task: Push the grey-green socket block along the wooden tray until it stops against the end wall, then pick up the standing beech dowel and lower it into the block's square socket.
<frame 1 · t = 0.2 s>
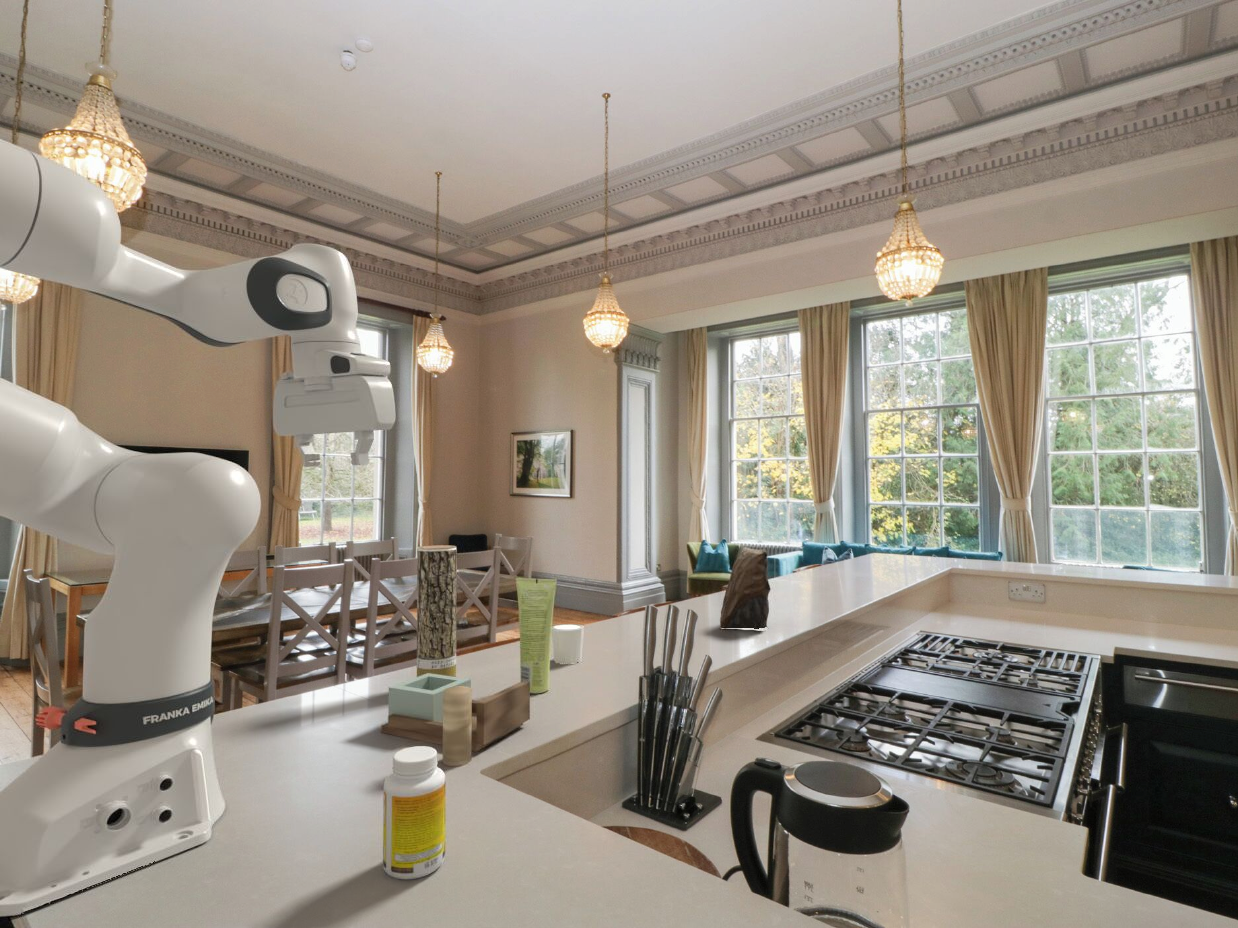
hand: (335, 466, 93), 39 cm above the worktop, tool pointing down, fingers open, 8 cm apart
socket block: (430, 699, 99), point 4 cm above the worktop, slide at 0.0 cm
supplement bottle: (414, 867, 62), on the worktop
paper tube: (436, 689, 118), on the worktop
tube: (535, 691, 116), on the worktop
wooden tray: (453, 728, 97), on the worktop
shot glass: (567, 661, 136), on the worktop
dowel: (457, 760, 86), on the worktop
brown rock: (742, 627, 169), on the worktop
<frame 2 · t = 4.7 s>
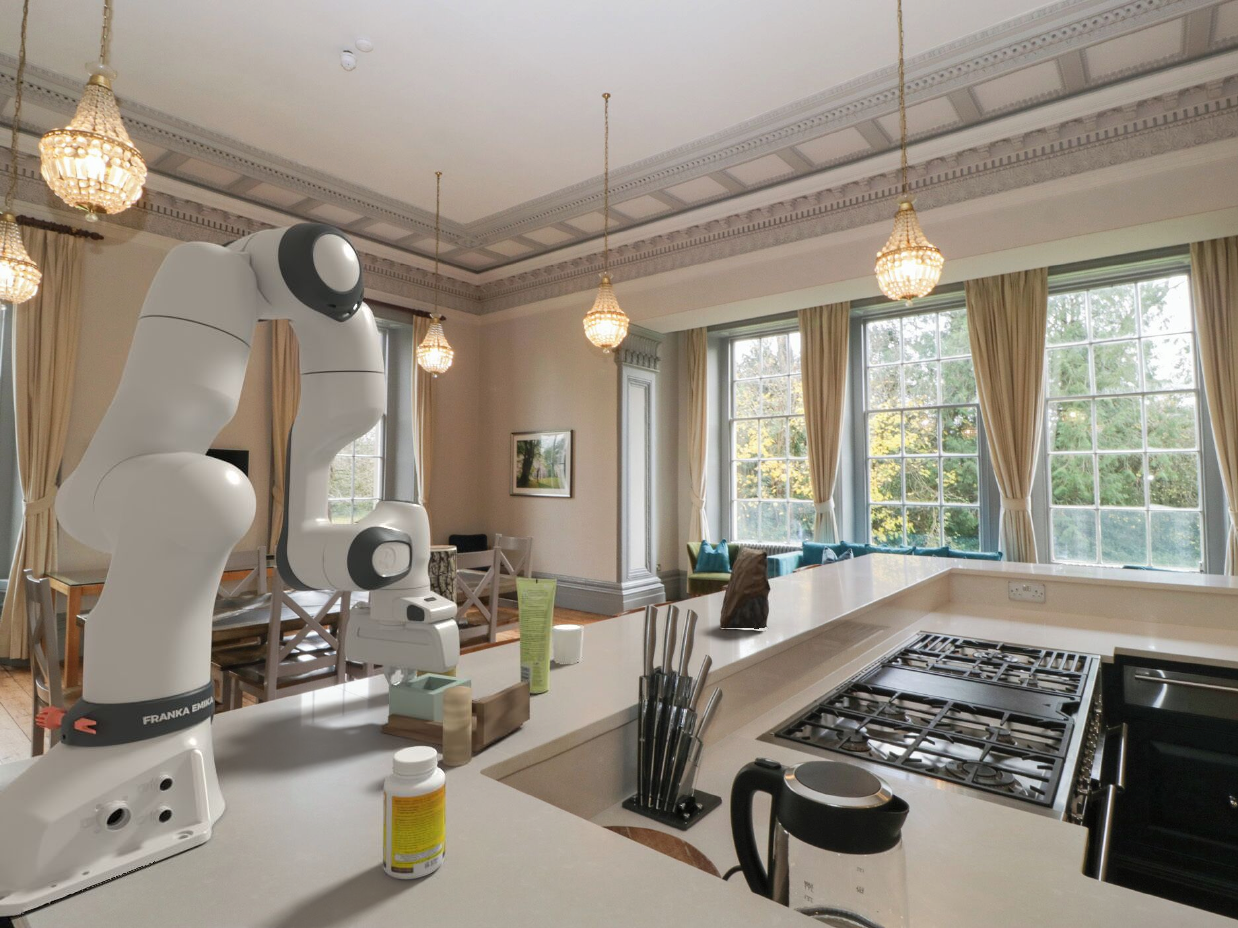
hand: (399, 695, 102), 4 cm above the worktop, tool pointing down, fingers closed
socket block: (430, 700, 99), point 4 cm above the worktop, slide at 0.1 cm, touching gripper
everything else where it was.
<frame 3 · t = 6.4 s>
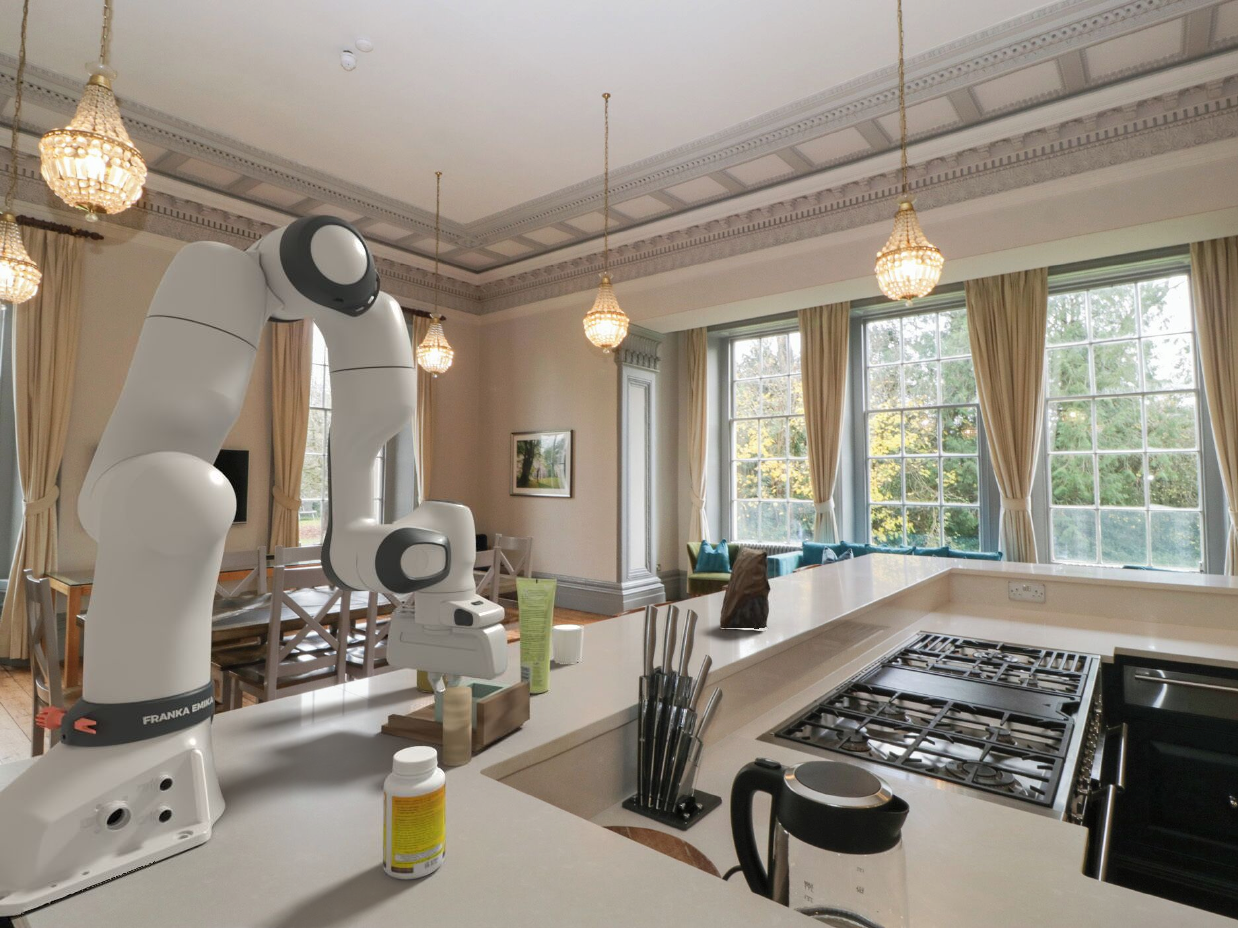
hand: (444, 702, 98), 4 cm above the worktop, tool pointing down, fingers closed
socket block: (477, 707, 96), point 4 cm above the worktop, slide at 8.6 cm, touching gripper, wooden tray
everything else where it was.
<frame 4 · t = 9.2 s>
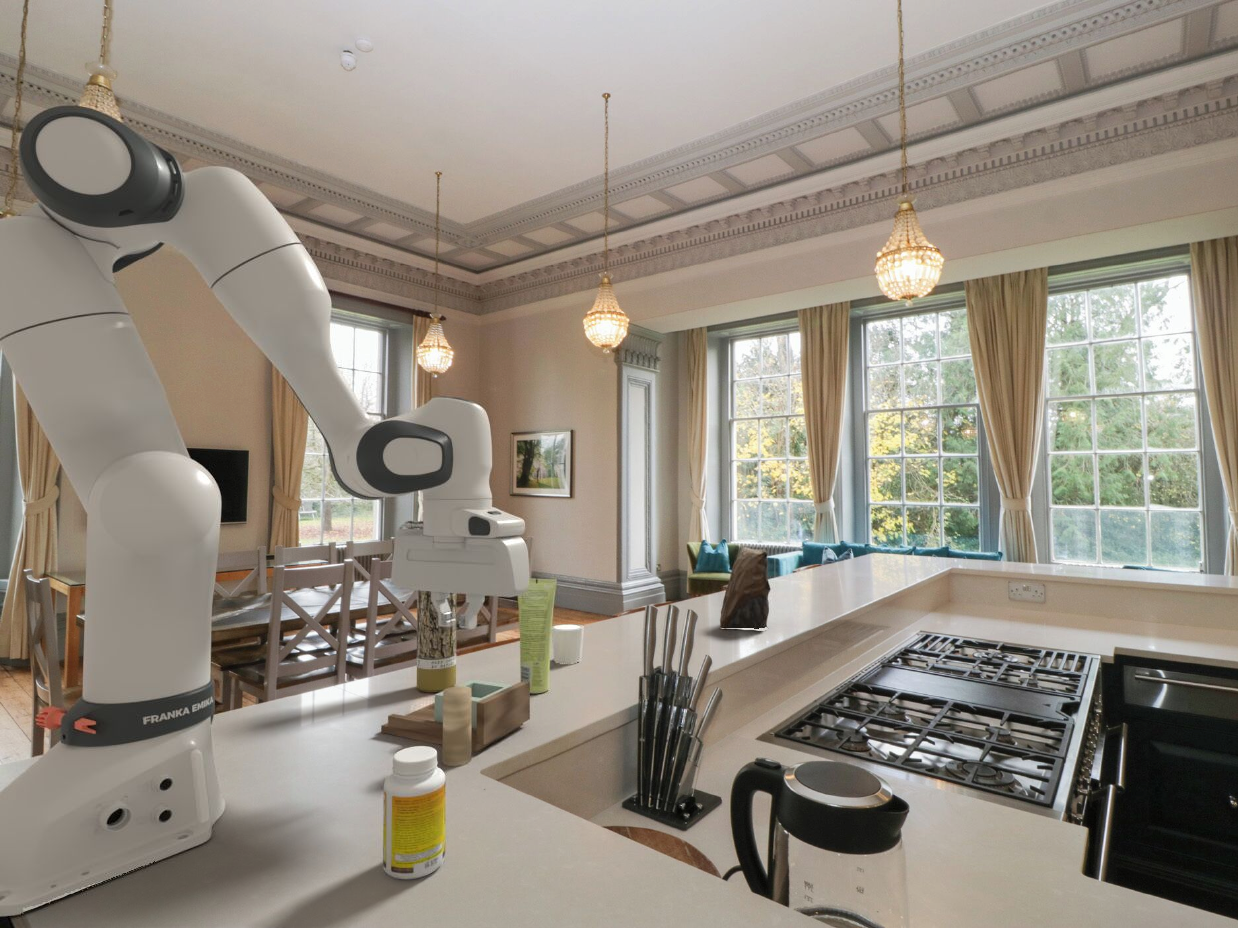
hand: (457, 627, 87), 17 cm above the worktop, tool pointing down, fingers closed
socket block: (477, 707, 96), point 4 cm above the worktop, slide at 8.6 cm, touching wooden tray
everything else where it was.
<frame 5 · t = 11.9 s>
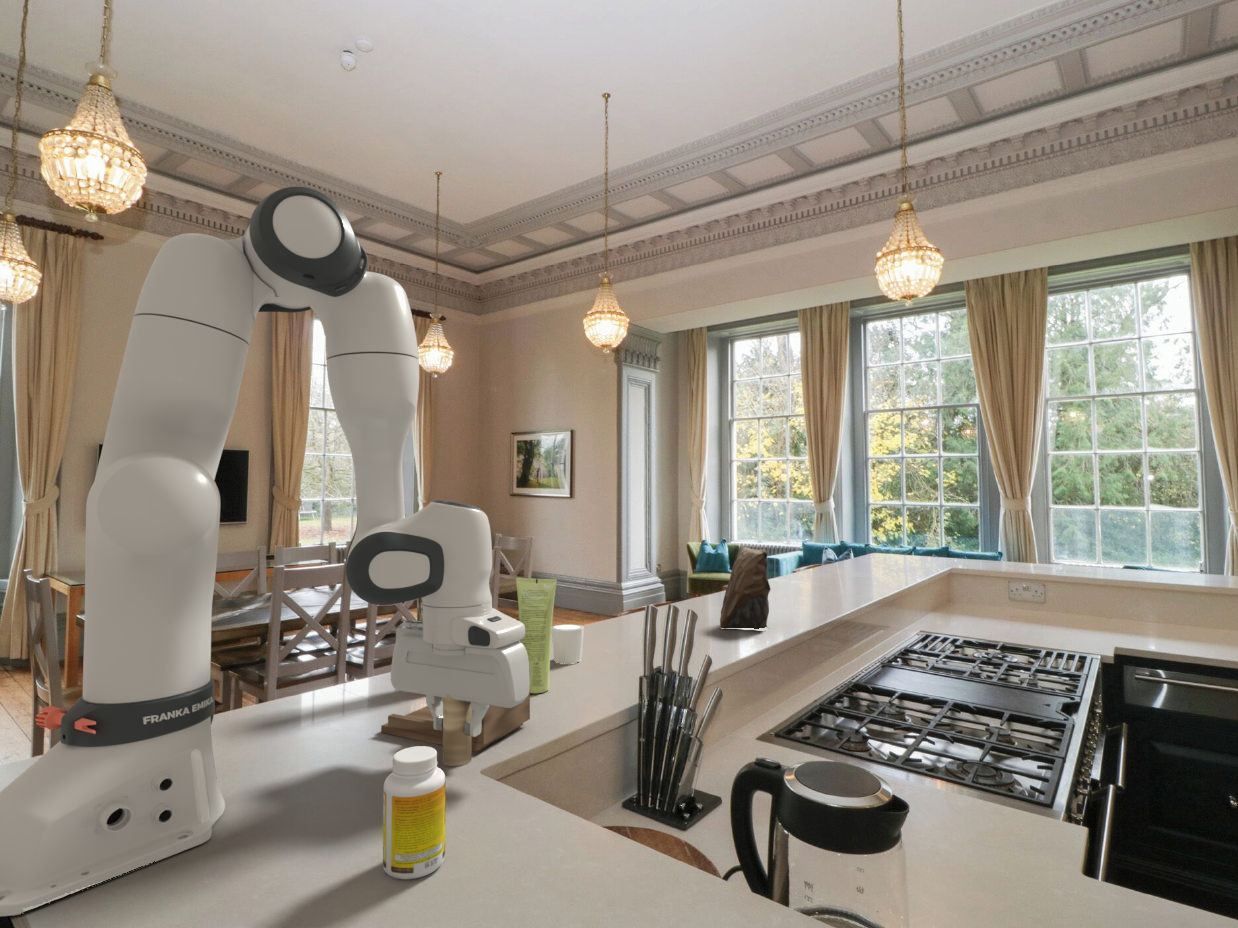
hand: (457, 731, 86), 4 cm above the worktop, tool pointing down, fingers closed on dowel, 4 cm apart
dowel: (457, 760, 86), on the worktop, touching gripper
everything else where it was.
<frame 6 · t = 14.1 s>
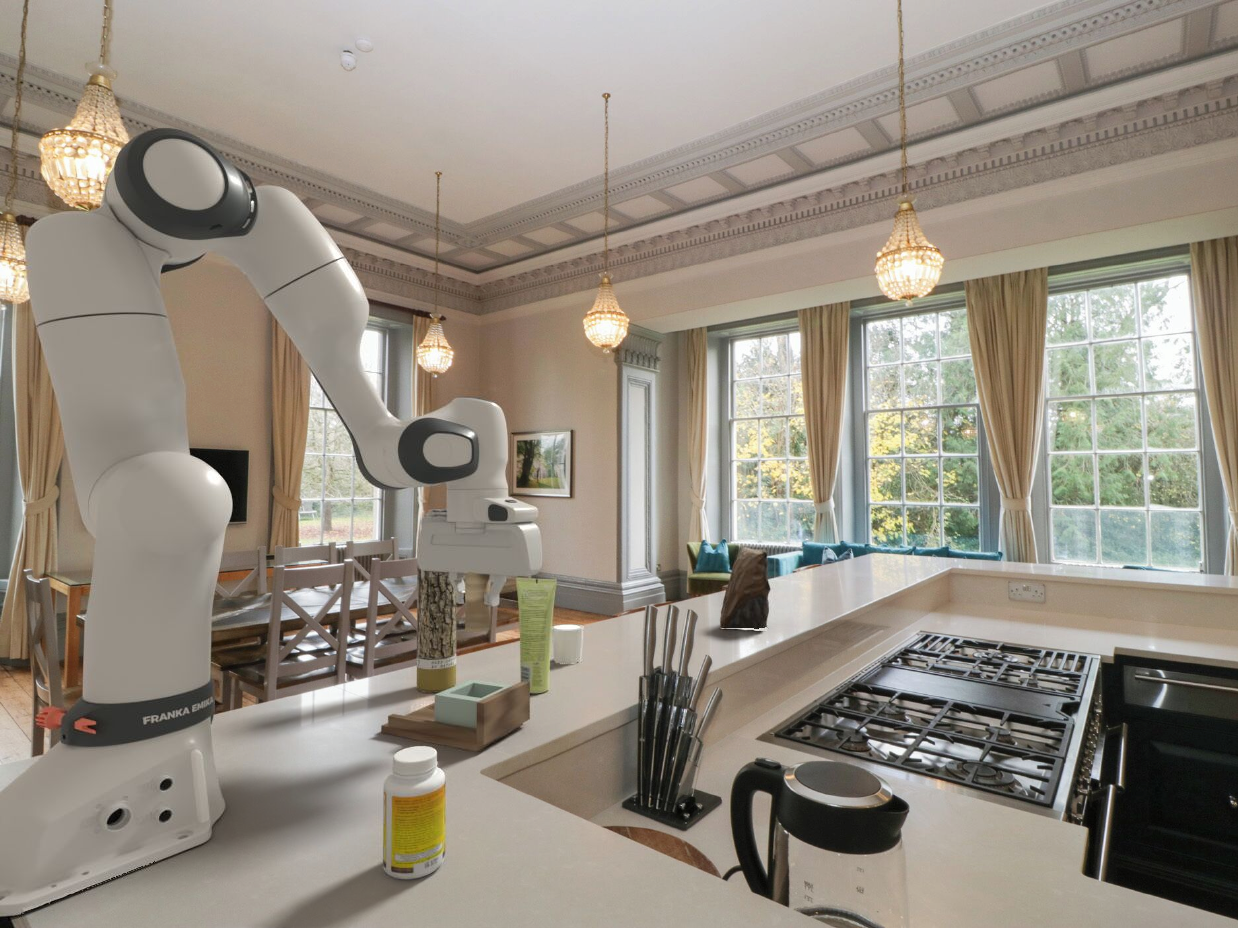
hand: (477, 604, 96), 18 cm above the worktop, tool pointing down, fingers closed on dowel, 4 cm apart
dowel: (477, 629, 96), point 15 cm above the worktop, touching gripper
everything else where it was.
when the fingers open (7 cm above the worktop, at t = 16.3 s): dowel drops 2 cm, resting on wooden tray.
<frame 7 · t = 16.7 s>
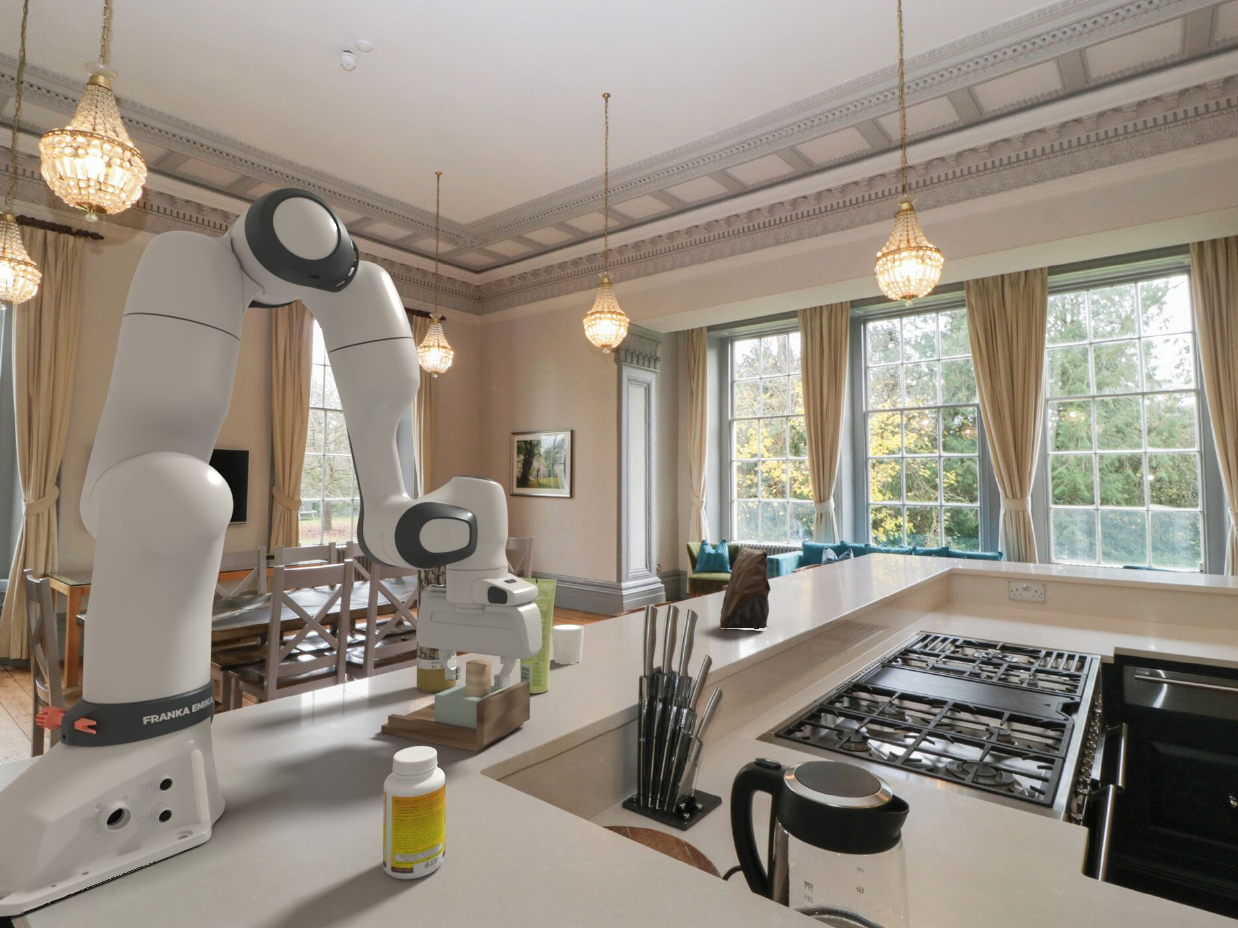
hand: (476, 683, 96), 7 cm above the worktop, tool pointing down, fingers open, 7 cm apart
dowel: (477, 725, 96), point 1 cm above the worktop, touching wooden tray
everything else where it was.
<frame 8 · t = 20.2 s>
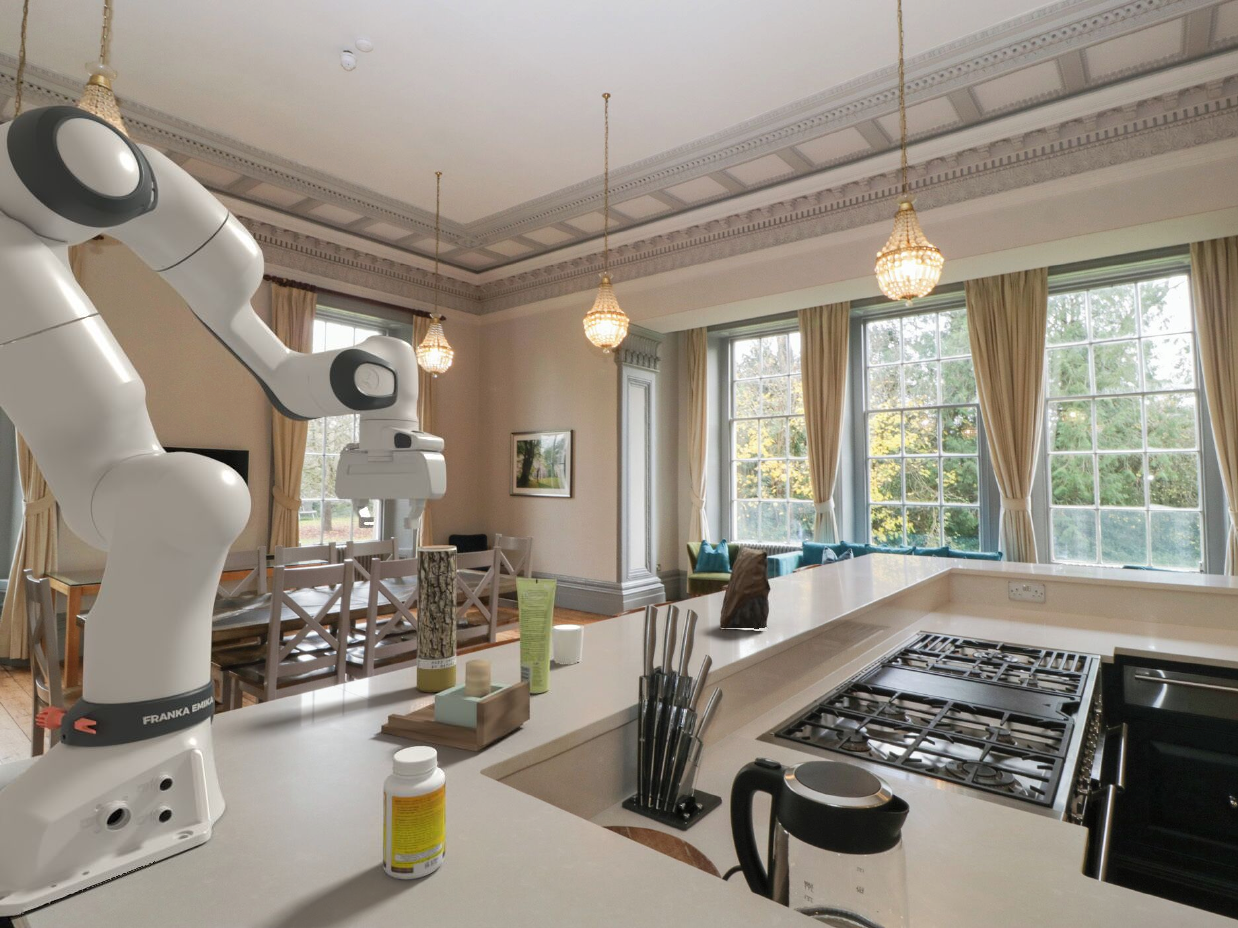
hand: (388, 528, 104), 29 cm above the worktop, tool pointing down, fingers open, 8 cm apart
nothing on the worktop moved.
at the end: socket block slide at 8.6 cm; dowel 0.0 cm from the target spot, point 1.1 cm above the worktop; dowel tilted 2° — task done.
